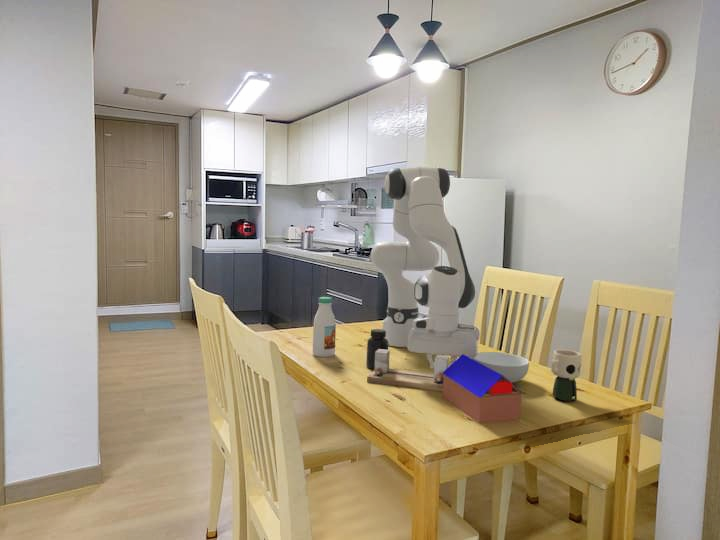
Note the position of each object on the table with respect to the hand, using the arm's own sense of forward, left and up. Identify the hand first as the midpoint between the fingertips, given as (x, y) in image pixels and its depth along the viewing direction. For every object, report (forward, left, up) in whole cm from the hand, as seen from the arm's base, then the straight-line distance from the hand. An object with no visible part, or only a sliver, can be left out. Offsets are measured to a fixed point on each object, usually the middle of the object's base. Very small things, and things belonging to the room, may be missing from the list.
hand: (441, 369), depth 156 cm
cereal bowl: (-10, +16, -5) cm, 20 cm away
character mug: (0, +34, -5) cm, 34 cm away
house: (+15, +12, -5) cm, 20 cm away
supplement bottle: (-9, -22, -5) cm, 24 cm away
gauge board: (+1, -7, -4) cm, 8 cm away
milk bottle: (-16, -43, -5) cm, 46 cm away
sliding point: (+1, 0, -3) cm, 3 cm away
